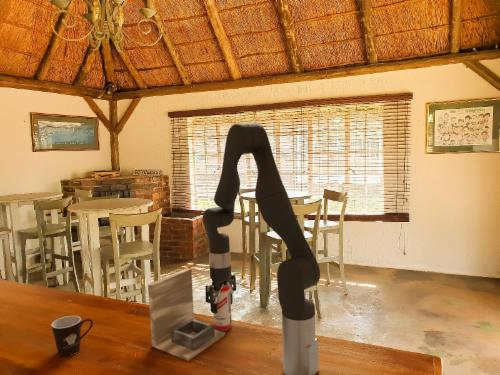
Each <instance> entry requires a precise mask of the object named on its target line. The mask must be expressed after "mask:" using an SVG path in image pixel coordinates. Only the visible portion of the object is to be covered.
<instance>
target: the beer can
mask: <svg viewBox="0 0 500 375" xmlns="http://www.w3.org/2000/svg"><path fill="white" fill-rule="evenodd" d="M219 288H220V287H219ZM217 293H218V291H214V294H217ZM213 299H215V296H214V298H213ZM212 314H213V325H214V327H215V330H218V331H221V332H224V331H225V332H226V331H228V330H230V328H231V327H232V325H233V321H232V304H231V295H230V287H229V285H224V287H223V289H221V295H220V297H219V298H218V300H217V313H216V314H214V313H212Z"/></svg>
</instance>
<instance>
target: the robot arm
mask: <svg viewBox="0 0 500 375" xmlns="http://www.w3.org/2000/svg"><path fill="white" fill-rule="evenodd" d="M269 139H270V138H269V136H268V133H267V131H266V129H265V128H264V126H263V125H262V124H261V123H258V122H238V123H234V124H233V125H231V126H230V127H229V129H228V131H227V135H226V139H225V145H224V152H223V159H222V168H221V174H220V178H219V182H218V184H217V188H216V189H215V190H216V191H215V193H214V198H213V201H214V204H215V205H216V206H217V207H210V208H206V209H205V210H204V212H203V214H202V223H203V226H204V229H205V231H206V232H205V233H206V235H207V238H208V244H209V246H208V248H209V252H208V253H209V256H208V262H209V264H208V265H209V277H210V279H211V284H206V285H205V292H204V294H205V303H206V304H207V303H208V304H209V305H210V313H212V314H213V313H214V314H216V313H217V300H218V298H219V297H220V295H221V289H223V287H224V285H229V287H230V295H231V305H233V301H234V300H233V297H234V296H233V294H234V292H235V291H237V279H236V274H233V273H232V257H231V251H230V250H231V248H230V245H231V244H230V237H229V235H228V234H226V233H223V232H219V230H218V228H225V227H229V226H230V225H231V224H232V223H233V222H234V219H235V205H236V204H235V203H236V200H237V197H238V196H239V191H240V188H241V178H240V175H239V171H238V165H239V162H240V159H241V158H242V155H249V154H251V155H252V157H253V158H254V162H255V164H256V169H257V177H256V178H257V179H256V183H255V189H254V195H255V196H254V197H255V201H256V204H257V208H258V210H259V213H260V215H261V218H262V219H263V221H264V222H265V223H266V225H268V227H269V228H270V229H272V231H274V232H275V233H276V235H278V237H279V238H280V239H281V240H282V242H283V243H284V245H285V247H286V249H287V250H288V254H289V256H290V257H289V258H288V259H285V260H283V261H281V262H280V264H279V265H278V267H277V271H276V280H277V281H276V282H277V296H278V303H279V306H280V308H281V327H282V328H281V330H282V331H281V332H282V336H281V337H282V366H283V368H282V369H283V373H284V375H316V374H317V373H318V371H320V370H319V369H320V368H319V367H320V366H319V360H320V359H319V339H318V338H316V306H315V303H314V302H313V301H312V300H310V299H308V298H306V297H305V296H306V295H305V290H307V289H309V288H312V287H314V286H316V285H317V284H318V283H319V281H320V279H321V269H320V266H319V262H318V260H317V258H316V257H315V254H314V252H313V251H312V248H311V247H310V245H309V242H308V240H307V238H306V237H305V234H304V232H303V230H302V228H301V225H300V223H299V221H298V218H297V215H296V213H295V212H294V208H293V206H292V203H291V200H290V197H289V195H288V192H287V190H286V187H285V186H284V182H283V180H282V178H281V175H280V172H279V169H278V167H277V164H276V160H275V157H274V154H273V150H272V146H271V143H270V140H269ZM219 287H220V288H219ZM214 291H218V293H217V294H214ZM214 296H215V299H213V298H214ZM214 314H213V315H214Z"/></svg>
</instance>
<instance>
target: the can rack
mask: <svg viewBox="0 0 500 375" xmlns="http://www.w3.org/2000/svg"><path fill="white" fill-rule="evenodd" d="M192 274H193V273H192V268H188V267H187V268H184V269H181V270H180V271H177V272H175V273H173V274H170V275H167V276H165V277H162V278H160V279H158V280H156V281H153V282H151V283H147V290H148V292H147V293H148V305H149V308H148V309H149V321H150V333H151V334H150V335H151V336H150V337H151V347H152V348H155V349H158V350H160V351H162V352H166V353H167V354H170V355H172V356H174V357H178V358H180V359H182V360H185V361H187V362H189V361H191V360H192V359H193V358H194V357H196V356H198V355H199V354H201V353H202V352H203V351H204V350H206V349H207V348H209V347H210V346H212V345H214V344H215V343H217V342H218V341H219V340H221V339H222V338H224V337H225V336H226V332H224V331H219V330H217V329H216V328H215V327H214V324H211V323H207V322H204V321H202V320H198V319H195V314H194V313H195V312H194V311H195V309H194V295H193V292H194V290H193V275H192Z"/></svg>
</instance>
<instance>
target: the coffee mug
mask: <svg viewBox="0 0 500 375" xmlns="http://www.w3.org/2000/svg"><path fill="white" fill-rule="evenodd" d="M87 321H89V322H90V326H89V327H88V329H87V330H86V331H85V332H84V333H83V334H82V335H81V331H82V330H81V329H82V328H81V327H82V326H83V324H84V323H85V322H87ZM93 325H94V321H93V320H92V319H90V318H85V319H83V320H82V318H81V316H78V315H68V316H63V317H60V318H57V319H55V320H54V321H53V322H51V325H50V326H51V329H52V333H53V334H52V335H53V337H54V342H55V346H56V350H57V354H58V356H59V355H61V356H60V357H62V356H67V355H71V354H74V353H76V352H77V353H78V351H79V352H80V350H81V340H82V339H83V338H84V337H85V336H86V335H87V334H88V333H89V332H90V331H91V329H92V327H93ZM77 353H76V354H77ZM74 355H75V354H74ZM71 356H72V355H71ZM67 357H68V356H67Z"/></svg>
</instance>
